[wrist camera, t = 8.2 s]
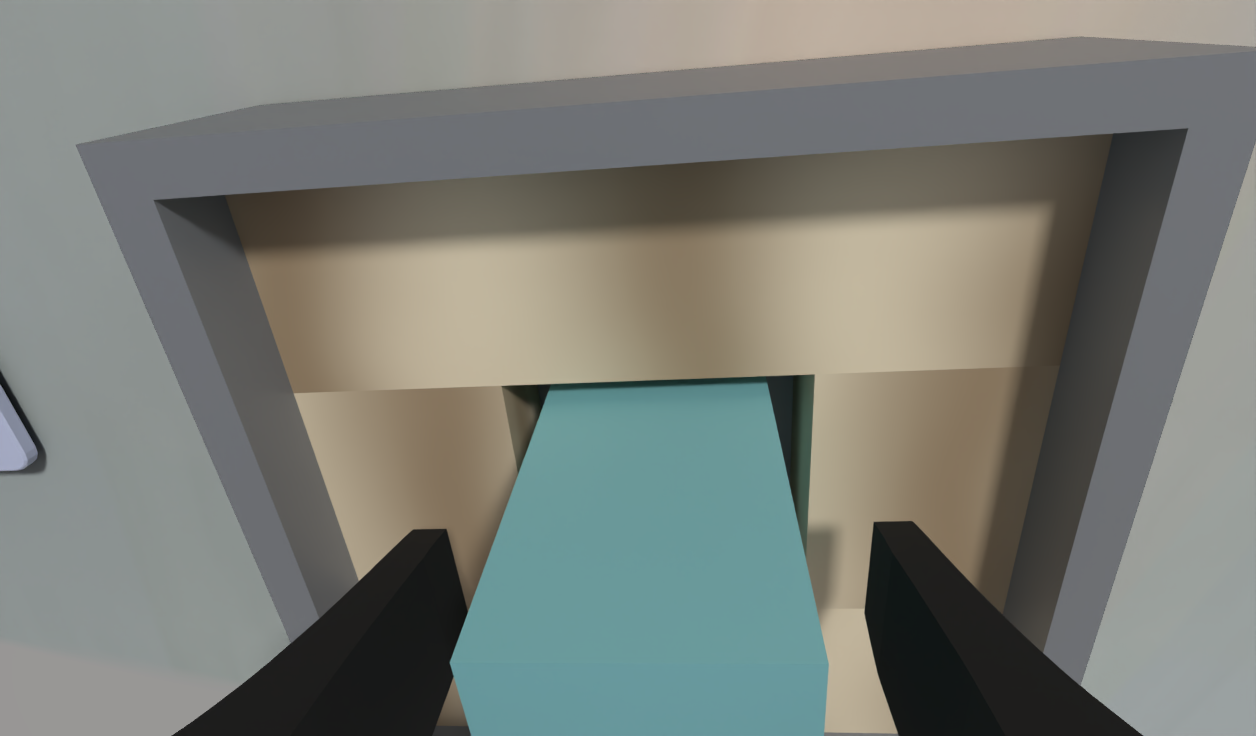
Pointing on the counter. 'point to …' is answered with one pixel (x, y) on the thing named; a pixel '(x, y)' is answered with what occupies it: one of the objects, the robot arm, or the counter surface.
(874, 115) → the box
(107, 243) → the counter surface
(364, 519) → the beige frame
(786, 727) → the peg
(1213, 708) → the counter surface
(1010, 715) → the robot arm
